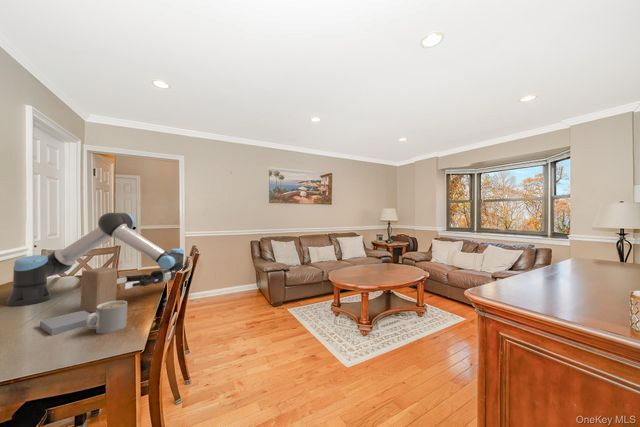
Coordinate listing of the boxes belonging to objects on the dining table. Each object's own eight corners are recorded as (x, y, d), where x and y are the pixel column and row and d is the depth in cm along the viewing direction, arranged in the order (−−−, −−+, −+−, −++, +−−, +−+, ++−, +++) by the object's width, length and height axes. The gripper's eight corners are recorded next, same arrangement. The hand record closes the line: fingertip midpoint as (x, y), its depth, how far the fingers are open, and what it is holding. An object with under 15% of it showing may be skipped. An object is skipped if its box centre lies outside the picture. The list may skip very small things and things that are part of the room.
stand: (39, 326, 104) (39, 320, 104) (83, 315, 116) (83, 310, 116) (51, 335, 97) (52, 328, 97) (97, 322, 109) (97, 316, 109)
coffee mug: (123, 321, 112) (124, 298, 112) (128, 328, 105) (130, 304, 105) (82, 331, 101) (83, 306, 102) (85, 339, 95) (86, 313, 95)
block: (95, 314, 118) (97, 272, 119) (79, 311, 120) (81, 270, 121) (116, 306, 128) (118, 268, 128) (101, 304, 130) (102, 266, 130)
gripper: (172, 285, 144) (130, 295, 125) (148, 279, 156) (106, 287, 137) (173, 272, 144) (131, 280, 125) (149, 267, 156) (107, 273, 137)
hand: (118, 284), depth 131 cm, fingers open, 13 cm apart
